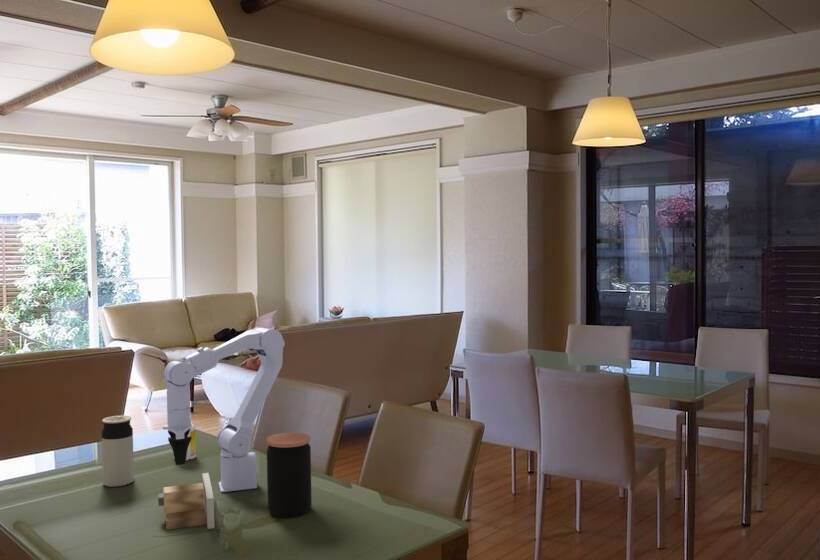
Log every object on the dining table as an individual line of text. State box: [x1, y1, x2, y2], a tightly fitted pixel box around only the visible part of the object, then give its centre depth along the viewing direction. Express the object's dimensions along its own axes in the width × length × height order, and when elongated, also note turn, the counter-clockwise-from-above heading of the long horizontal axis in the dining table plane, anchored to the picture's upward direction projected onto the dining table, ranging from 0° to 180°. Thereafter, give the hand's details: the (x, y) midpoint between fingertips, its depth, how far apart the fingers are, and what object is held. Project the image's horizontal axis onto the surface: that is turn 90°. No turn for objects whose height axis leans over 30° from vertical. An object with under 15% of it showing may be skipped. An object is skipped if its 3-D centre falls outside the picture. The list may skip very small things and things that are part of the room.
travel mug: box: [101, 415, 135, 488], centre depth 198 cm, size 8×8×18 cm
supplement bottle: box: [173, 416, 197, 461], centre depth 221 cm, size 7×7×13 cm
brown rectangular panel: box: [165, 502, 207, 531], centre depth 173 cm, size 9×14×2 cm, turn 19°
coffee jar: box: [266, 432, 312, 519], centre depth 176 cm, size 11×11×18 cm
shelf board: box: [201, 472, 215, 530], centre depth 174 cm, size 2×20×7 cm, turn 19°
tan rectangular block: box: [157, 482, 204, 515], centre depth 172 cm, size 10×4×5 cm, turn 109°
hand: (180, 460), depth 185 cm, fingers open, 7 cm apart
